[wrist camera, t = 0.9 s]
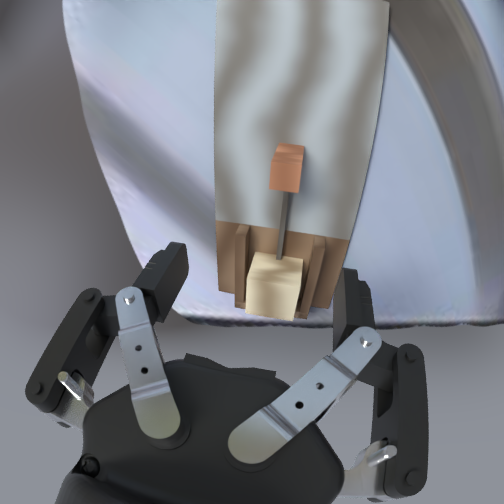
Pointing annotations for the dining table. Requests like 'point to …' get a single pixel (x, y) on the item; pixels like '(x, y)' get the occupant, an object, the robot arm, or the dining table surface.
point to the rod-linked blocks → (278, 248)
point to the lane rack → (294, 132)
